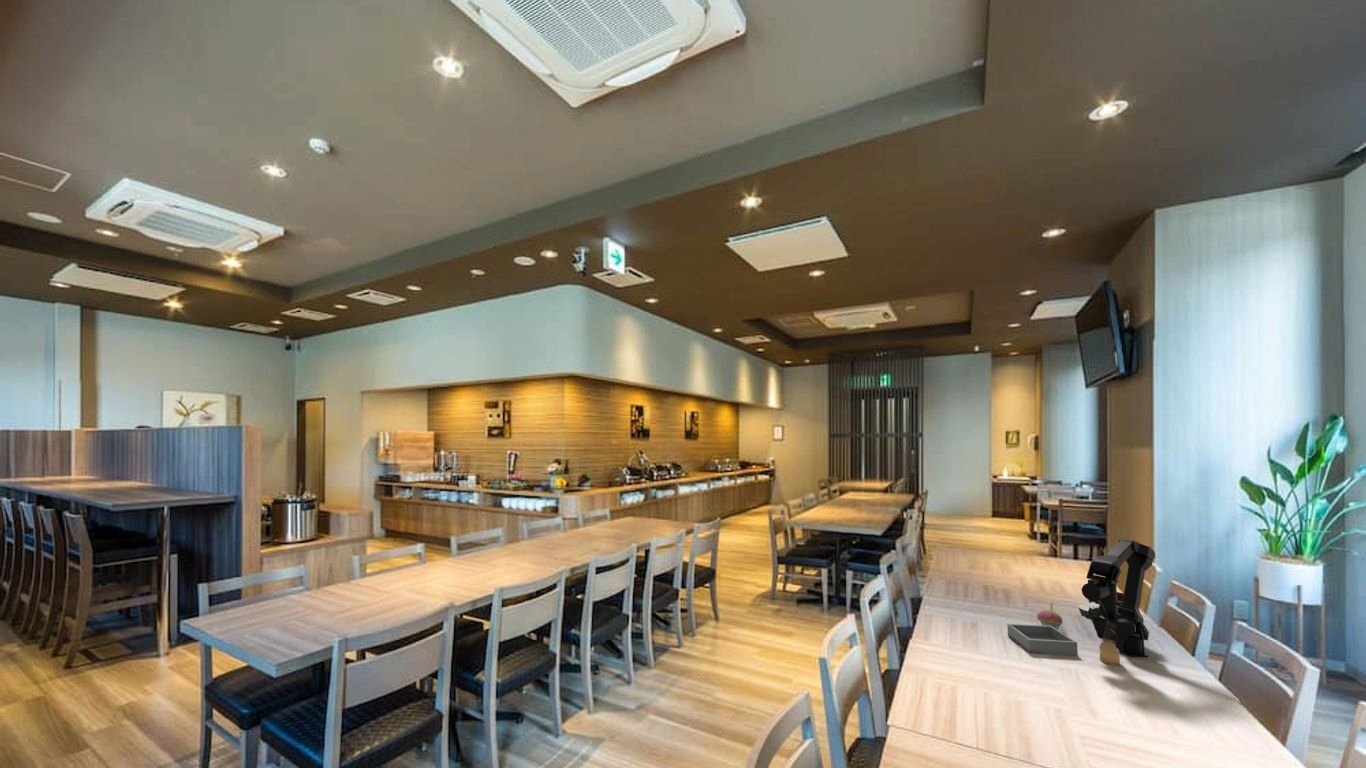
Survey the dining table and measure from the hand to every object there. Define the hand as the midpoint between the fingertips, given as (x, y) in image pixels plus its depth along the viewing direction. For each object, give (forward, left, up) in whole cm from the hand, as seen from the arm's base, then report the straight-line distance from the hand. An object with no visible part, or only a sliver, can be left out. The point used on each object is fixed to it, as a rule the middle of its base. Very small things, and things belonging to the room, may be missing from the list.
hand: (1109, 643), depth 186 cm
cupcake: (+4, -29, -6) cm, 30 cm away
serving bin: (+16, -12, -6) cm, 21 cm away
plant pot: (-16, -24, -6) cm, 29 cm away
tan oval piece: (0, 0, -6) cm, 6 cm away
